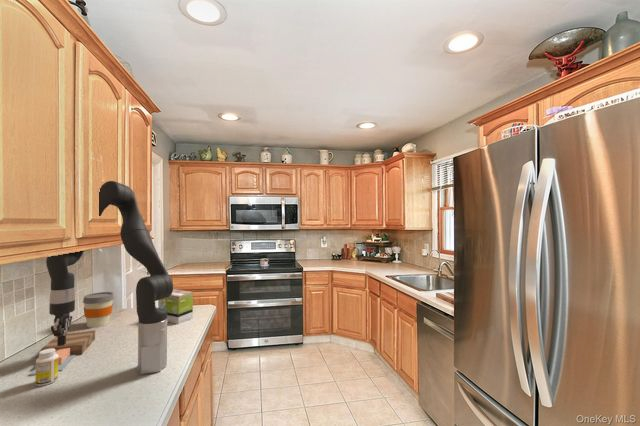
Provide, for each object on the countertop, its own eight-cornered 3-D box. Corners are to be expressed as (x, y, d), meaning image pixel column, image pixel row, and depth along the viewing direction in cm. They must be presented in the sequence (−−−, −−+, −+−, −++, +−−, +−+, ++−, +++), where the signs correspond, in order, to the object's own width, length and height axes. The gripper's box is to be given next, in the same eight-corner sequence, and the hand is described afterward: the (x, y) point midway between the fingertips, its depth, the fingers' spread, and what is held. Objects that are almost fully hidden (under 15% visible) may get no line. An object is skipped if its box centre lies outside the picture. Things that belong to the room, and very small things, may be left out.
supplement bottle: (52, 376, 102) (53, 346, 102) (61, 379, 100) (62, 349, 100) (31, 384, 97) (32, 352, 97) (40, 388, 95) (41, 356, 95)
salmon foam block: (61, 364, 109) (61, 357, 109) (40, 367, 107) (40, 360, 107) (70, 354, 117) (70, 347, 117) (50, 356, 114) (50, 350, 114)
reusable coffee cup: (85, 322, 154) (86, 293, 155) (114, 318, 160) (115, 290, 161) (79, 330, 143) (80, 299, 144) (111, 326, 149) (112, 296, 150)
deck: (81, 354, 118) (82, 344, 118) (40, 360, 113) (40, 349, 114) (94, 339, 133) (95, 330, 133) (58, 343, 128) (58, 334, 128)
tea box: (157, 320, 158) (157, 292, 158) (173, 315, 167) (173, 288, 168) (178, 324, 152) (178, 295, 152) (193, 318, 161) (193, 291, 162)
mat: (61, 371, 106) (61, 369, 106) (28, 375, 102) (28, 374, 102) (75, 355, 118) (75, 354, 118) (46, 359, 114) (46, 358, 114)
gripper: (67, 303, 111) (66, 350, 111) (80, 295, 123) (79, 337, 123) (41, 305, 108) (40, 353, 108) (58, 297, 121) (57, 340, 120)
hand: (61, 344), depth 116 cm, fingers closed
